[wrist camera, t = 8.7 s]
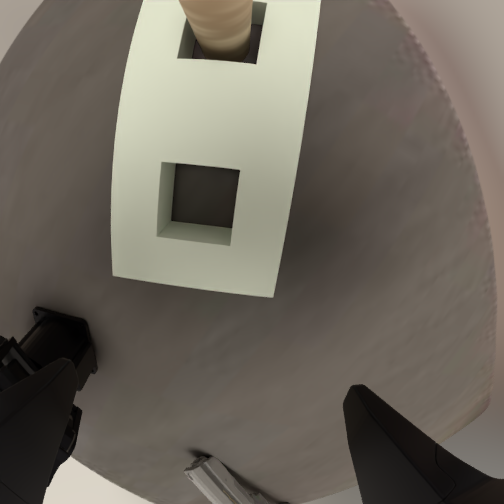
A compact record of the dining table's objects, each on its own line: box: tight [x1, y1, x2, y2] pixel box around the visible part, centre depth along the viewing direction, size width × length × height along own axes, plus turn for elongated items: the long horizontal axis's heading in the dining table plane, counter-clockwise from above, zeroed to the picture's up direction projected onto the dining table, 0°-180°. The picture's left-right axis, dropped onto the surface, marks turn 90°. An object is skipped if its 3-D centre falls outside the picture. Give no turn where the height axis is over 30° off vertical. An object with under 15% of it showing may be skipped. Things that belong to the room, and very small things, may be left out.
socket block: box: [111, 0, 321, 298], centre depth 15 cm, size 20×10×4 cm, turn 172°
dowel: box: [179, 0, 253, 62], centre depth 10 cm, size 3×3×10 cm
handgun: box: [184, 456, 289, 504], centre depth 32 cm, size 31×3×15 cm, turn 28°
